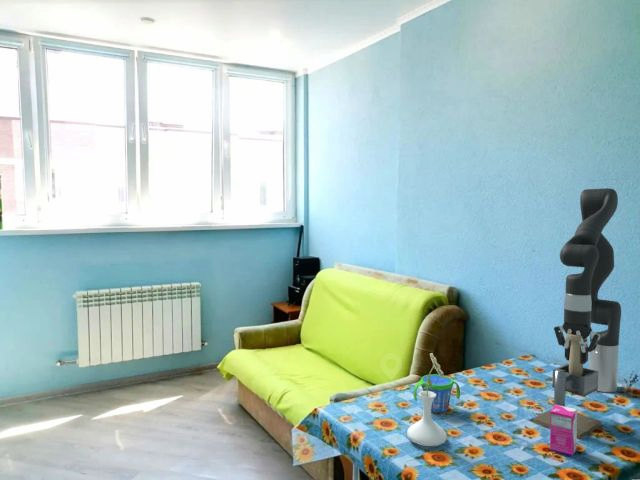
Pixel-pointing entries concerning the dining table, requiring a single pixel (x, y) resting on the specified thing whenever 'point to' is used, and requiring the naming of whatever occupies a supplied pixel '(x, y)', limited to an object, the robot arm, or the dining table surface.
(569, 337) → the handle
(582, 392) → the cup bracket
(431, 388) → the snack cup
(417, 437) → the flower in vase
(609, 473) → the dining table surface
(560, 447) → the supplement box
